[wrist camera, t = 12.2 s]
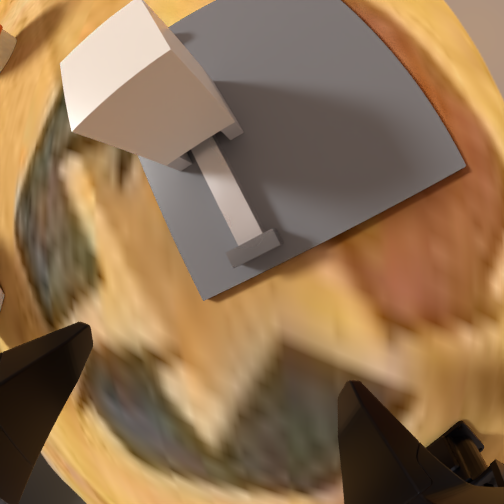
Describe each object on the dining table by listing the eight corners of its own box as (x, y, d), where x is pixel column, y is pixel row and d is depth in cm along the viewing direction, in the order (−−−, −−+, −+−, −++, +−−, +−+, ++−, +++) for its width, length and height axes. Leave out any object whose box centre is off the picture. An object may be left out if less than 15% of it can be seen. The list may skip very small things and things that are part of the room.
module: (243, 132, 17) (170, 49, 8) (180, 171, 19) (71, 131, 9) (211, 79, 18) (138, -6, 8) (155, 116, 19) (59, 61, 9)
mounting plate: (462, 167, 15) (466, 166, 14) (206, 298, 19) (203, 300, 19) (300, -29, 16) (299, -33, 15) (112, 74, 20) (108, 72, 20)
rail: (284, 243, 17) (280, 244, 16) (241, 265, 18) (233, 268, 16) (169, 34, 18) (159, 24, 16) (140, 54, 19) (129, 45, 17)
